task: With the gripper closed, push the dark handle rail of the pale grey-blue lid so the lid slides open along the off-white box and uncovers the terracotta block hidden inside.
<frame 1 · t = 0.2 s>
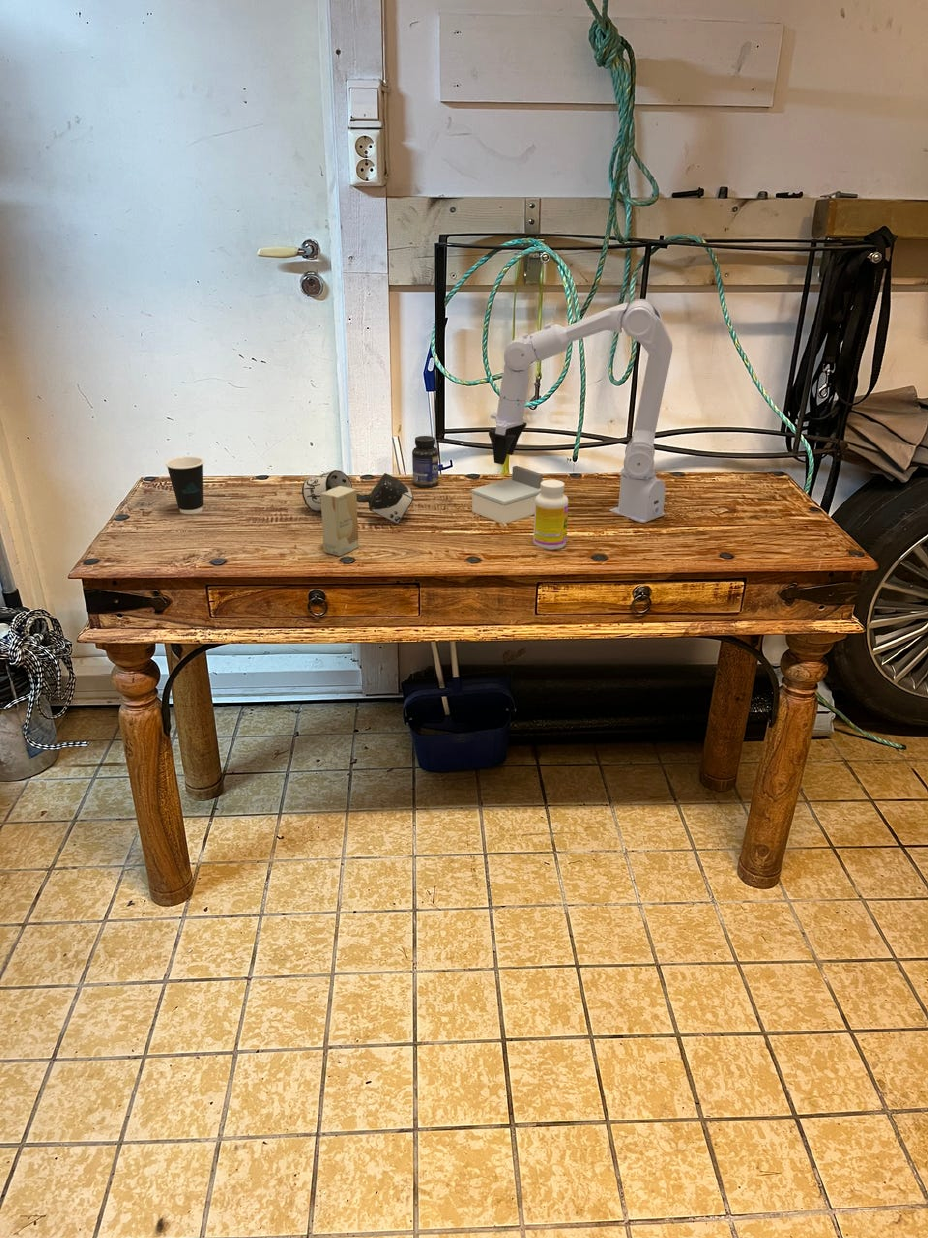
hand: (503, 458, 206), 10 cm above the table, tool pointing down, fingers open, 7 cm apart
pill bottle: (425, 484, 223), on the table
skincare box: (341, 550, 187), on the table
dixie cup: (191, 511, 207), on the table
terracotta block: (514, 509, 207), resting on box
lid: (508, 483, 203), point 7 cm above the table, slide at 0.0 cm
supplement bottle: (549, 545, 190), on the table
box: (507, 513, 206), on the table
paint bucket: (357, 515, 205), on the table
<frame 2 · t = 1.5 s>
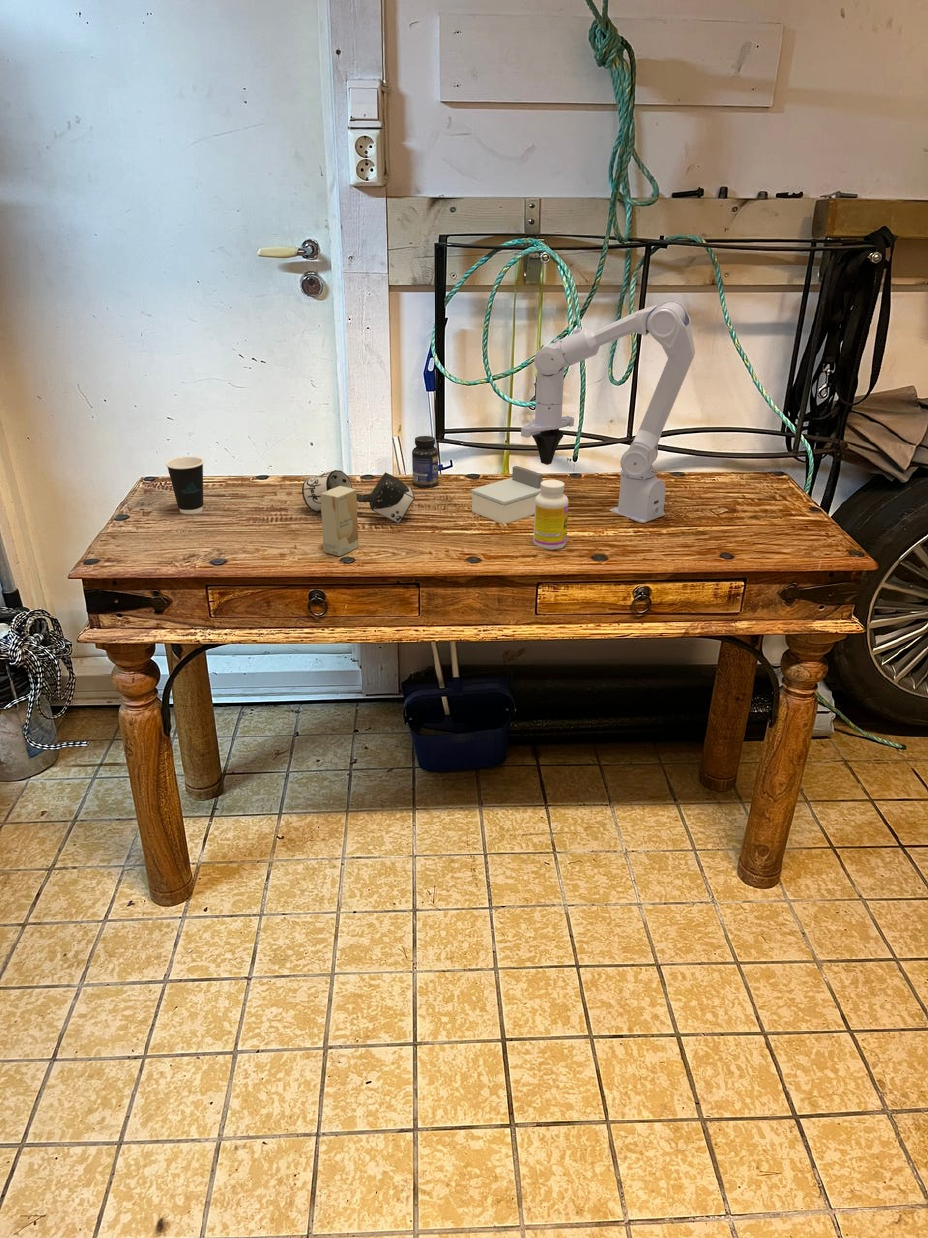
hand: (546, 463, 208), 9 cm above the table, tool pointing down, fingers closed
nothing on the table moved.
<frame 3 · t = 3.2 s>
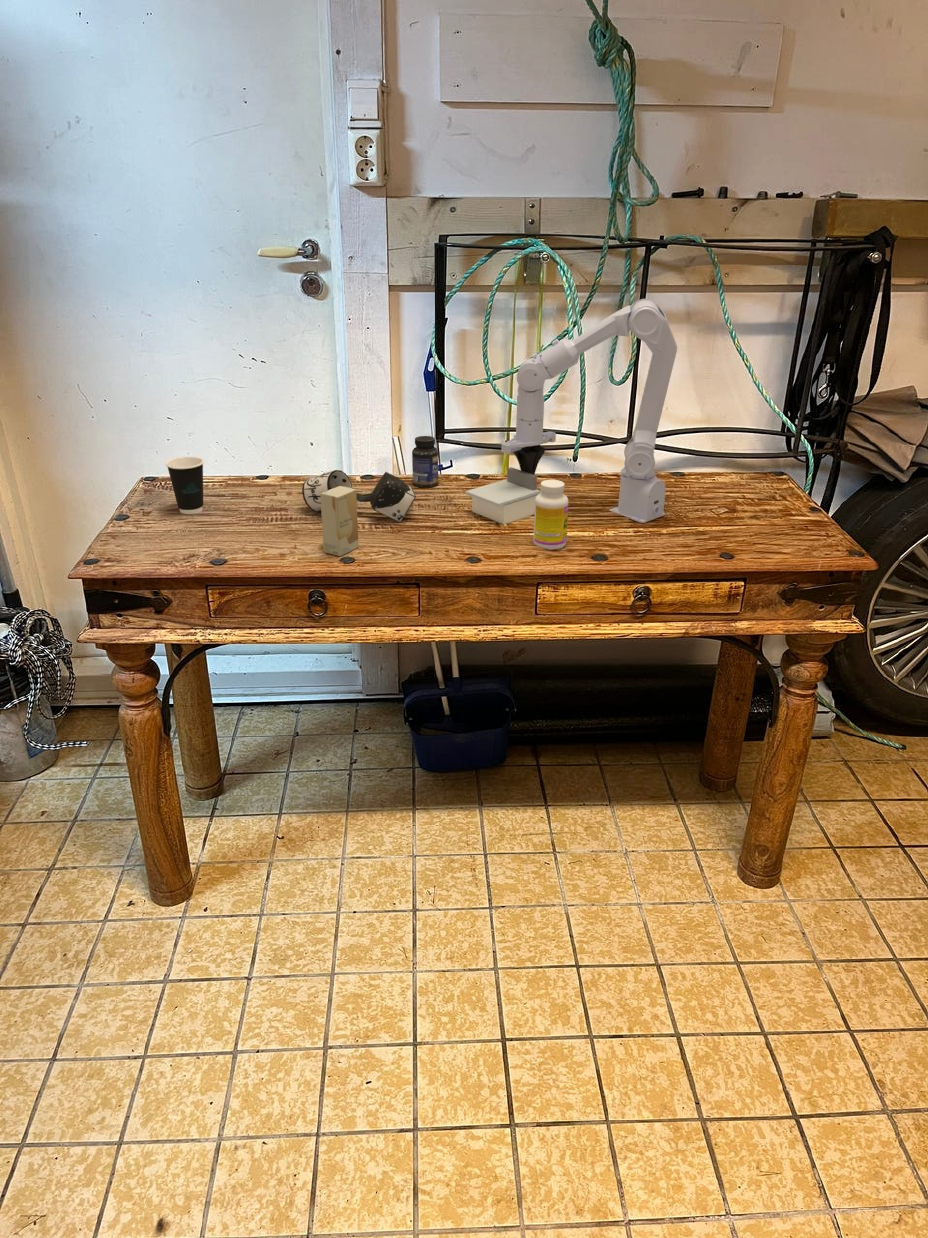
hand: (527, 479, 206), 6 cm above the table, tool pointing down, fingers closed
lid: (503, 485, 202), point 7 cm above the table, slide at 1.6 cm, touching gripper
everything else where it was.
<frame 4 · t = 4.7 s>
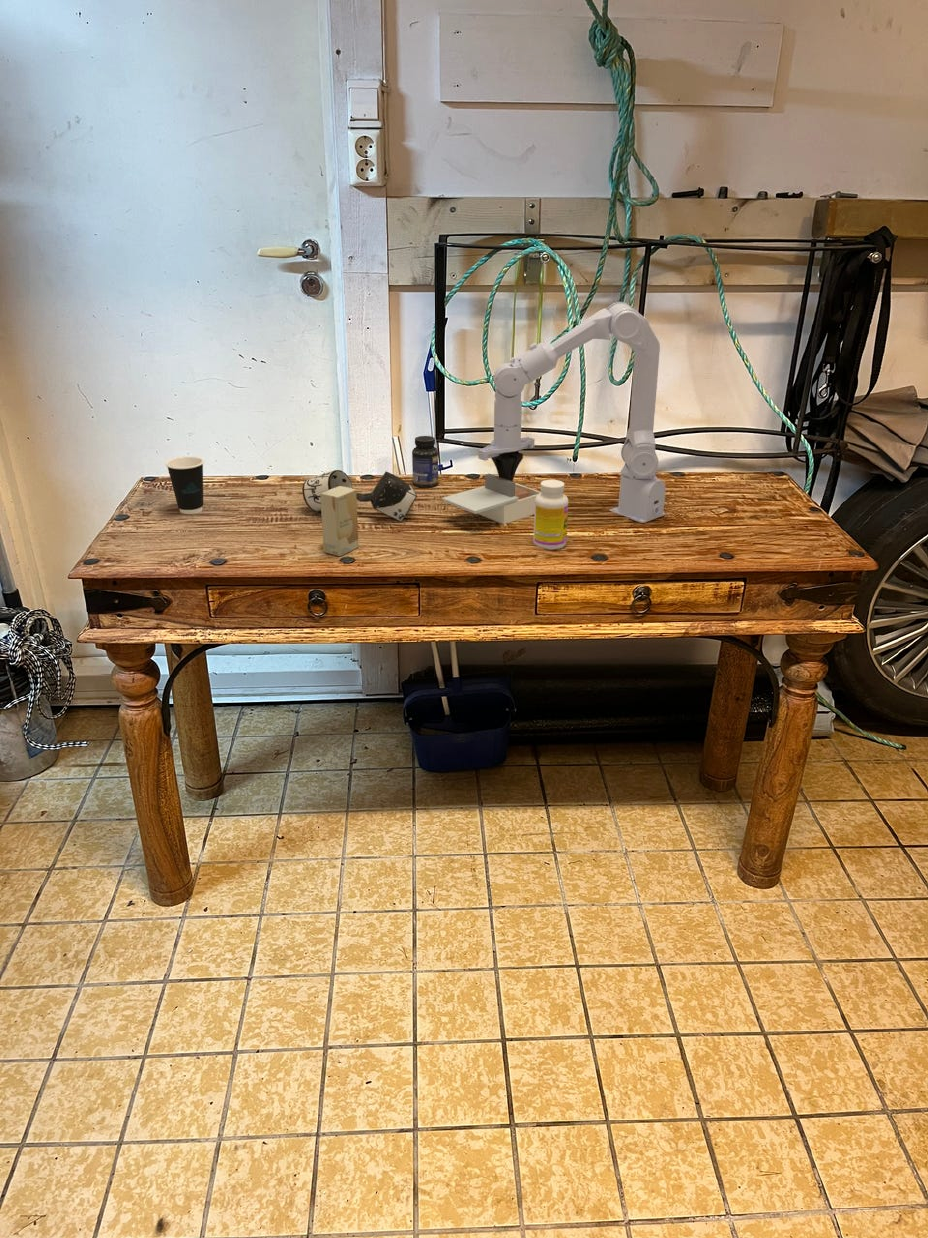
hand: (506, 485, 202), 6 cm above the table, tool pointing down, fingers closed
lid: (480, 492, 198), point 7 cm above the table, slide at 8.2 cm, touching gripper
everything else where it was.
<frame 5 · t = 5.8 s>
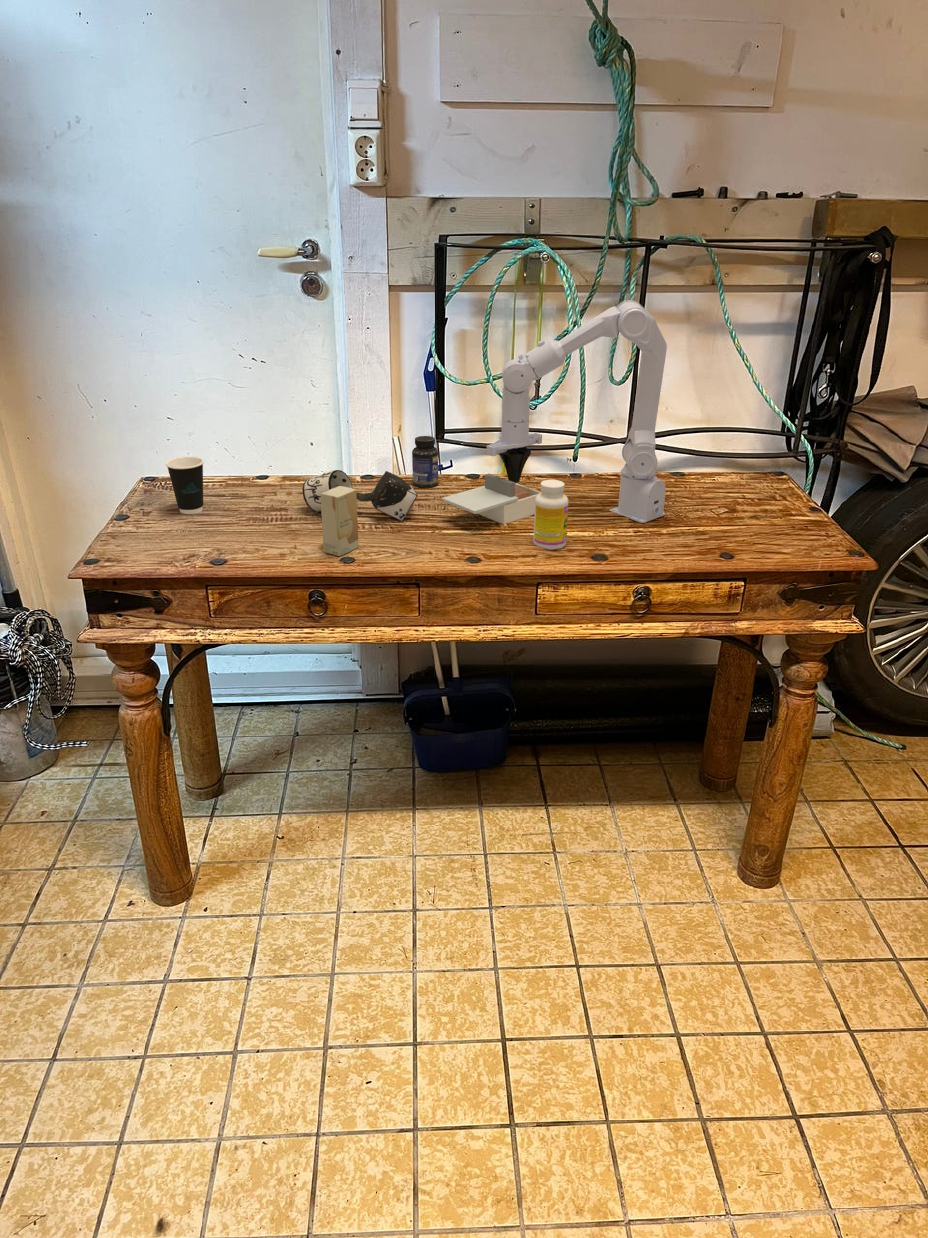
hand: (513, 481, 203), 7 cm above the table, tool pointing down, fingers closed
lid: (480, 492, 198), point 7 cm above the table, slide at 8.2 cm
everything else where it was.
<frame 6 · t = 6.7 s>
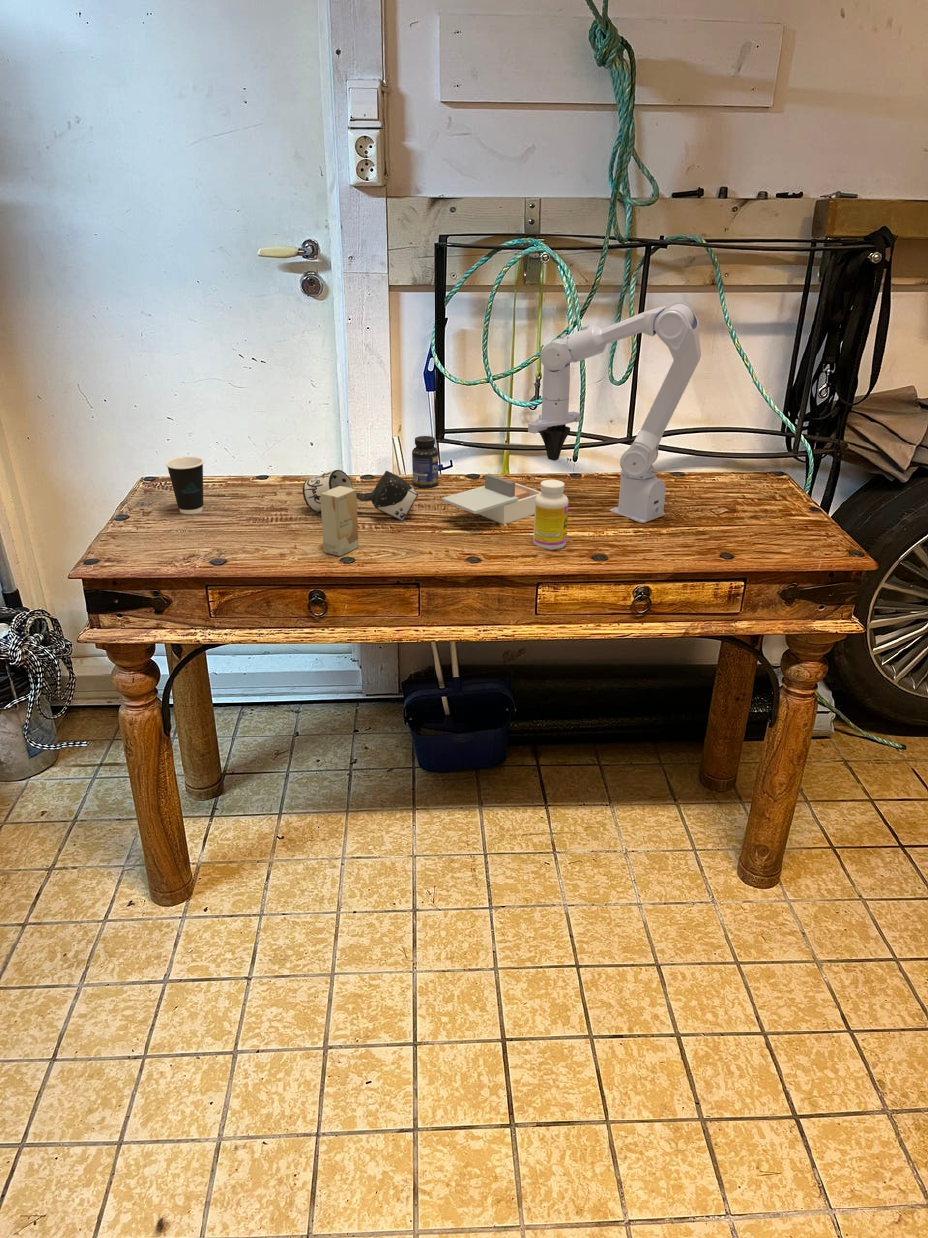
hand: (553, 459, 208), 10 cm above the table, tool pointing down, fingers closed
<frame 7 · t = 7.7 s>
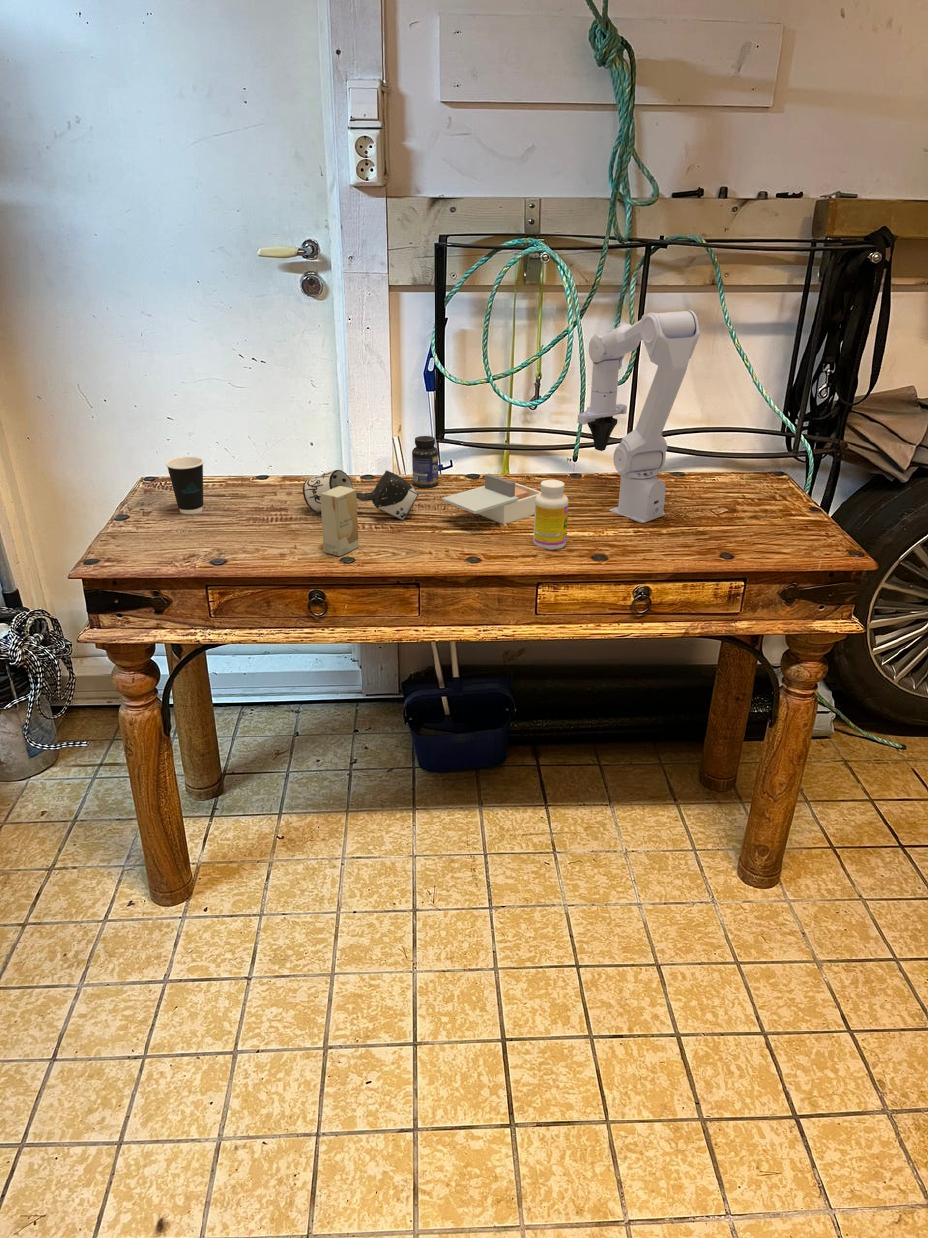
hand: (600, 449, 216), 9 cm above the table, tool pointing down, fingers closed
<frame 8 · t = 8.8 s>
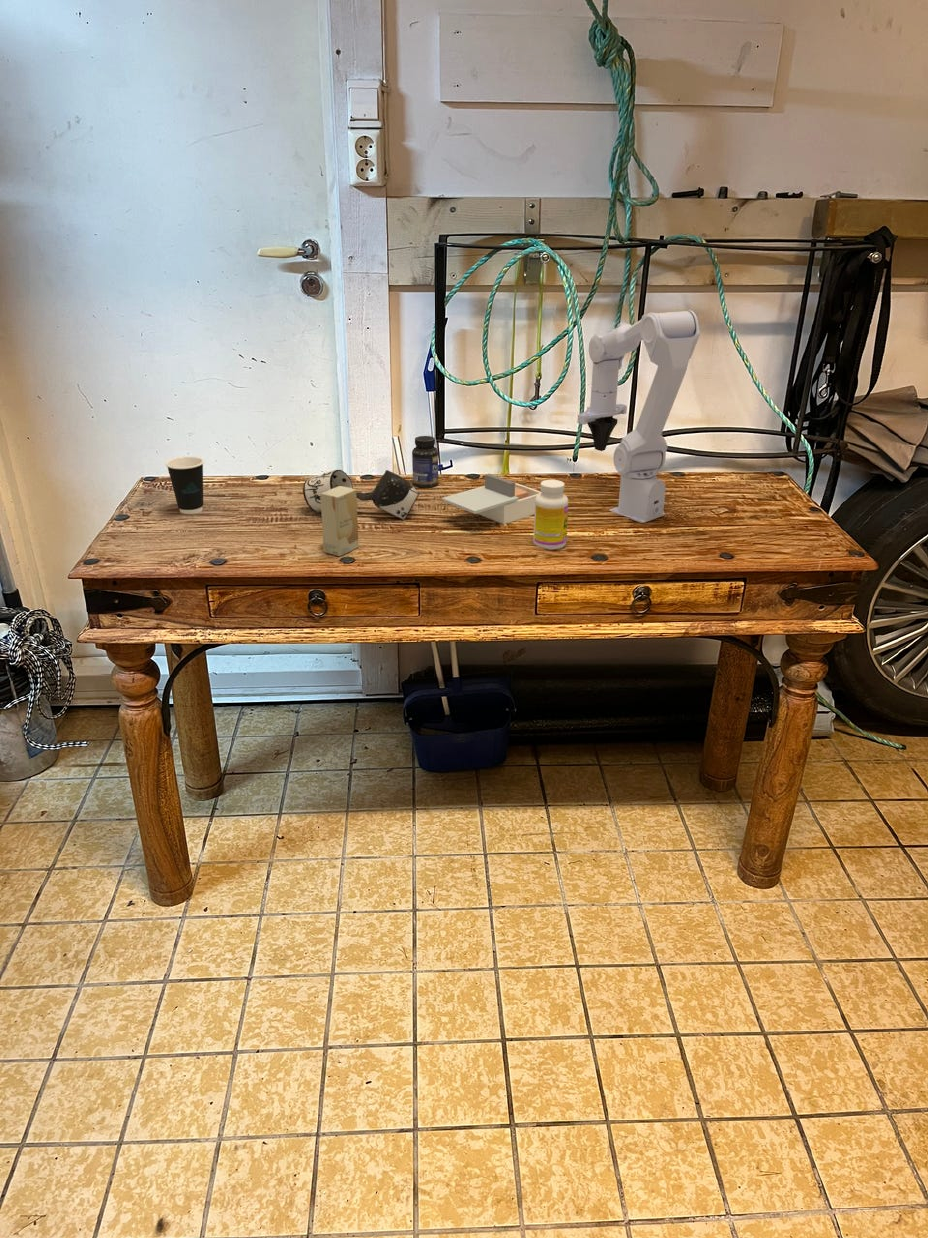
hand: (600, 449, 216), 9 cm above the table, tool pointing down, fingers closed
at the end: lid slide at 8.2 cm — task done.
